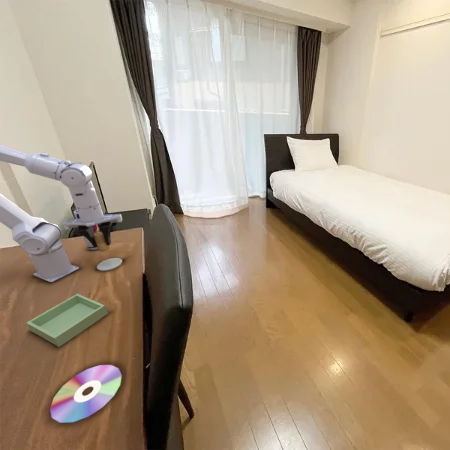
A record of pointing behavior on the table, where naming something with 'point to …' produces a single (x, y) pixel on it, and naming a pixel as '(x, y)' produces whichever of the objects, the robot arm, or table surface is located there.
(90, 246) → the beverage can
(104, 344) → the table surface
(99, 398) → the cd
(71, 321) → the tray
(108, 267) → the coaster
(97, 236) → the brown cylinder
